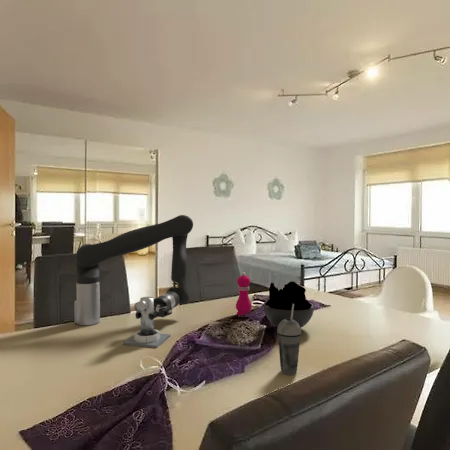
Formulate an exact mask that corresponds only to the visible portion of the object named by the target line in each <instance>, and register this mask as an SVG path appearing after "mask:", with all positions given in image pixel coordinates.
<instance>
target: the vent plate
mask: <svg viewBox="0 0 450 450" xmlns="http://www.w3.org/2000/svg"><path fill="white" fill-rule="evenodd" d="M140 334H141V329H139V330H137V331H135V332H134V333H133V334H132V336H130V337H129V338H127V339H125V340H124V341H123V342H122V345H123V346H132V347H133V346H134V347H142V348H143V347H145V348H153V349H157V348H159V347H160V346H162V344H163V343H165V342H166V341H167V340H169V338H170V337H171V334H168V333H167V334H166V333H161V331H159V329H155V328H154V335H151V336H140Z"/></svg>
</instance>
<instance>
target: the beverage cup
mask: <svg viewBox="0 0 450 450" xmlns="http://www.w3.org/2000/svg"><path fill="white" fill-rule="evenodd" d="M293 310H294V304H292V312H291V319H289V318H288V319H284V320H282V321H281V322H280V323H279V325H278V327H276V329H277V330H276V334H277V335H276V336H277V340H278V353H279V363H280V364H279V365H280V372H281V373H282V374H283V375H287V376H294V375H296V374H297V371H298V366H299V365H298V364H299V356H300V355H299V352H300V343H301V339H302V335H303V333H302V329H301V328H302V327H301V328H300V326H299V324H298V323H297V322H296V321H295V320H293V319H292V318H293Z"/></svg>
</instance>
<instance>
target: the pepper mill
mask: <svg viewBox="0 0 450 450" xmlns="http://www.w3.org/2000/svg"><path fill="white" fill-rule="evenodd" d="M236 280H237V281H236V282H237V285H238V286H237V287H238V291H239V292H238V293H239V295H238V298H237V300H236V303H235V308H236V316H237V315H244V314H246V313H248V312H251V310H252V307H253V306H252V302H251V299H250V297H249V291H250V284H251V278H250V277H249V276H247V274H246V272H245V271H243V272H242V273H241V275H240V276H239V277H238V278H237V279H236Z"/></svg>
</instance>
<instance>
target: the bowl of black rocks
mask: <svg viewBox="0 0 450 450" xmlns="http://www.w3.org/2000/svg"><path fill="white" fill-rule="evenodd" d="M306 292H307V290H306V288H305V287H304V286H302V285H300V284H298V283H296V281H293V280H292V281H289V282H287V283H286V284H284V285H283V287H282V288H278V287H276V286H275V283H274V282H271V283H270V284H269V288H268V293H269V294H268V300H266V301H264V303H263V310H264V314H265V316H266V318H267V319H268V320H269V321H270V323H271V324H272V325H273V326H275V327H276V328H278V325H279V323H280V322H281V321H282V320H284V319H288V318H289V319H291V312H292V304H294V310H293V318H292V319H293V320H295V321H296V322H297V323H298V324H299V326H300V328H303V327H305V326H306V325H308V323H309V322H310V320H311V319H312V318H313V315H314V312H315V305H314V304H313V303H312V302H309V301H308V299H307V296H306Z"/></svg>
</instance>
